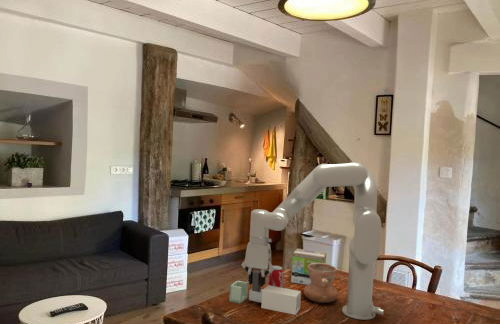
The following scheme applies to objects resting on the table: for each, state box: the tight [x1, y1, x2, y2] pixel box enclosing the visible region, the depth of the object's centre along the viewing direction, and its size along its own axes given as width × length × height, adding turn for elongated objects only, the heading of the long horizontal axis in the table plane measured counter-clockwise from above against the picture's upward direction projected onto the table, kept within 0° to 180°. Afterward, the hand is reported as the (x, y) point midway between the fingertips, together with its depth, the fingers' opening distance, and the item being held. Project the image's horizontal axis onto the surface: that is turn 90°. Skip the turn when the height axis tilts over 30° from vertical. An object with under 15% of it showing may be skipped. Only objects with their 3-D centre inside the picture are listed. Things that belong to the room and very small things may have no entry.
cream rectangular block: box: [261, 285, 302, 316], centre depth 160 cm, size 14×7×7 cm, turn 68°
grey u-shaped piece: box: [248, 269, 264, 304], centre depth 162 cm, size 17×4×12 cm, turn 68°
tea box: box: [290, 248, 327, 286], centre depth 194 cm, size 15×10×15 cm, turn 73°
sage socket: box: [228, 280, 249, 305], centre depth 167 cm, size 5×8×6 cm, turn 158°
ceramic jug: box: [303, 263, 339, 304], centre depth 173 cm, size 18×14×14 cm
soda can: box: [266, 265, 285, 288], centre depth 175 cm, size 7×7×12 cm
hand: (256, 284), depth 164 cm, fingers open, 4 cm apart
